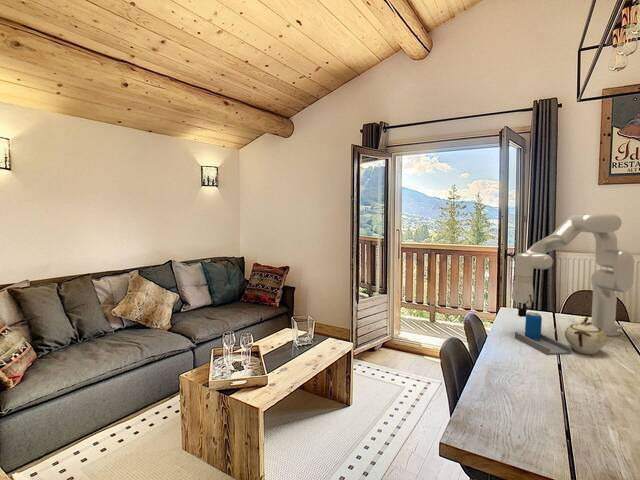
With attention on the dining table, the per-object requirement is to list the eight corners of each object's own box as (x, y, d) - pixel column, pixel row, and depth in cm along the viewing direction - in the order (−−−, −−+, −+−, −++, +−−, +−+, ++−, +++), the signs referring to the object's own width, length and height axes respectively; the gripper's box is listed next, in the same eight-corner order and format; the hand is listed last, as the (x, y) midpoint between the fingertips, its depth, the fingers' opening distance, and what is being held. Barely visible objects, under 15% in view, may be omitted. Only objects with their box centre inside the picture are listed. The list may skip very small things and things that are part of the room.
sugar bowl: (600, 361, 150) (603, 325, 149) (558, 351, 161) (559, 317, 160) (610, 349, 163) (612, 316, 162) (570, 341, 174) (571, 309, 173)
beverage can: (543, 341, 171) (544, 315, 170) (529, 341, 171) (530, 315, 171) (535, 336, 178) (537, 312, 177) (522, 336, 178) (523, 312, 177)
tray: (535, 336, 180) (535, 331, 180) (571, 353, 158) (571, 347, 158) (514, 337, 179) (514, 332, 179) (547, 355, 157) (547, 348, 157)
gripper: (507, 276, 187) (505, 312, 188) (526, 281, 172) (524, 320, 174) (521, 276, 188) (519, 312, 189) (541, 281, 173) (539, 320, 174)
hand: (522, 316), depth 181 cm, fingers closed
